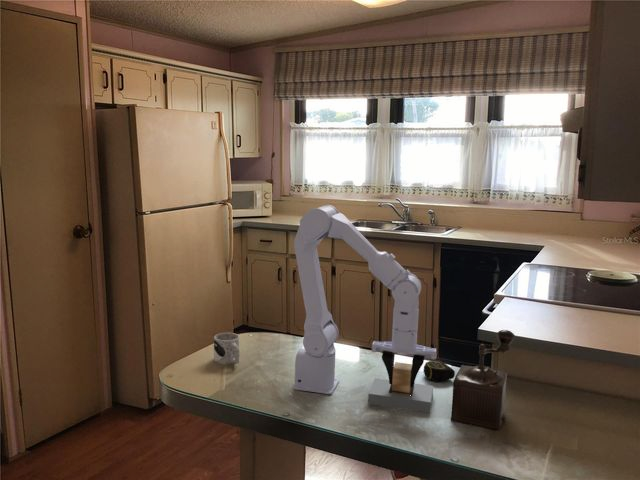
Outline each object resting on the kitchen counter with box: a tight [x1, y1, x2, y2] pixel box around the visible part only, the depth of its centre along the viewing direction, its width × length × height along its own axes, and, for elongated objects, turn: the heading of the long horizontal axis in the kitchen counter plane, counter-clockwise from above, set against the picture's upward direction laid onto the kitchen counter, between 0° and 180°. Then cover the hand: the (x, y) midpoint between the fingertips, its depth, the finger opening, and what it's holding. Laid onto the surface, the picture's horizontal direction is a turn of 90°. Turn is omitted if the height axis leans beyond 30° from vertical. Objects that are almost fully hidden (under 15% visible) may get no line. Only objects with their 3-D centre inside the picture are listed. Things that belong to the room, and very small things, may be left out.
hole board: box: [367, 377, 434, 414], centre depth 128 cm, size 14×9×2 cm, turn 75°
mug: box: [213, 332, 240, 366], centre depth 147 cm, size 10×7×7 cm, turn 36°
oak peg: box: [392, 361, 412, 396], centre depth 128 cm, size 4×4×8 cm
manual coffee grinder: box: [450, 329, 516, 432], centre depth 123 cm, size 16×11×18 cm
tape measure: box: [423, 360, 456, 382], centre depth 142 cm, size 7×7×4 cm
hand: (401, 384), depth 128 cm, fingers open, 4 cm apart
